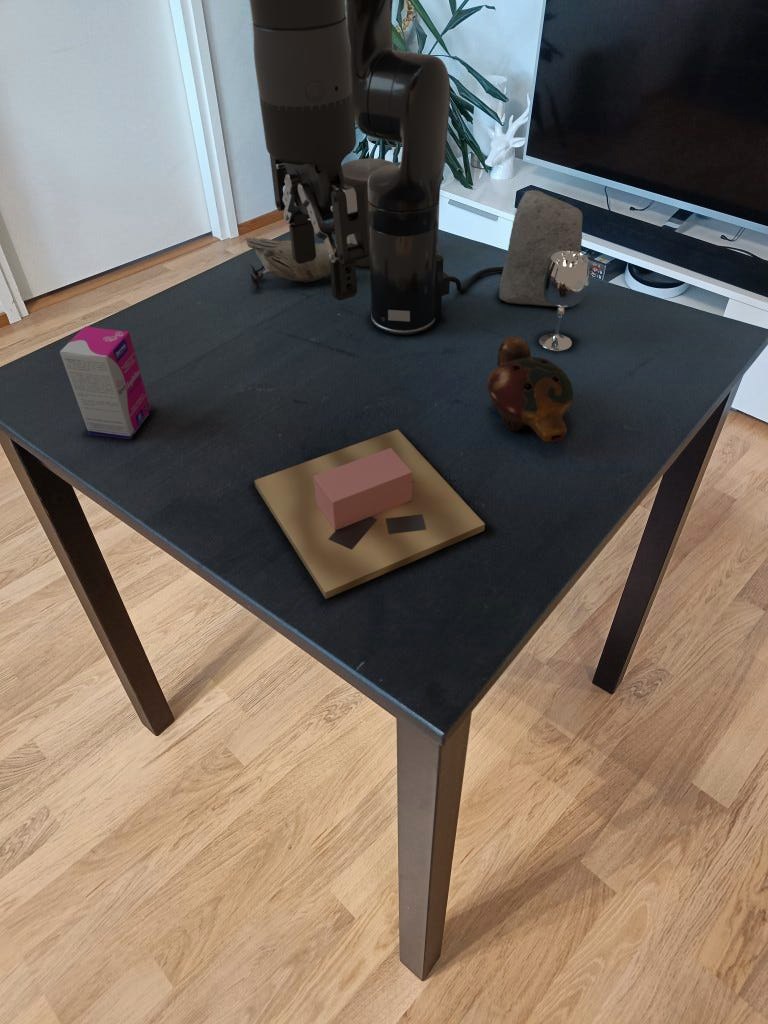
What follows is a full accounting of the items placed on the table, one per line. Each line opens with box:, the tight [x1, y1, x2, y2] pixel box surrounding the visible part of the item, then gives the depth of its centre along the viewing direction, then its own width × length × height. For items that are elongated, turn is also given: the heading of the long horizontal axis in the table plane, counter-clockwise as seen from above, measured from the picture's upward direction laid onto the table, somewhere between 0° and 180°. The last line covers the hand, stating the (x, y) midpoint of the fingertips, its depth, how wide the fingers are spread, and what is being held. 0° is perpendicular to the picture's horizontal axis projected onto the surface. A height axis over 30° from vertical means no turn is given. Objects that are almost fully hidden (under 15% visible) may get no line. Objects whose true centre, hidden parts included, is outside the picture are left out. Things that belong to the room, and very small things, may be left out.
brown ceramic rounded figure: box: [487, 336, 574, 444], centre depth 83 cm, size 10×15×8 cm, turn 21°
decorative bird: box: [244, 237, 337, 290], centre depth 109 cm, size 5×16×8 cm, turn 94°
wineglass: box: [538, 251, 590, 352], centre depth 94 cm, size 6×6×12 cm
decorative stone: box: [498, 189, 584, 308], centre depth 101 cm, size 11×6×15 cm, turn 71°
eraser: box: [314, 448, 412, 530], centre depth 73 cm, size 9×4×4 cm, turn 119°
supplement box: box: [59, 326, 152, 440], centre depth 83 cm, size 6×6×12 cm
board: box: [253, 428, 486, 600], centre depth 75 cm, size 18×18×1 cm
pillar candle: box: [341, 157, 394, 268], centre depth 113 cm, size 10×10×15 cm
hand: (324, 277), depth 68 cm, fingers open, 8 cm apart
